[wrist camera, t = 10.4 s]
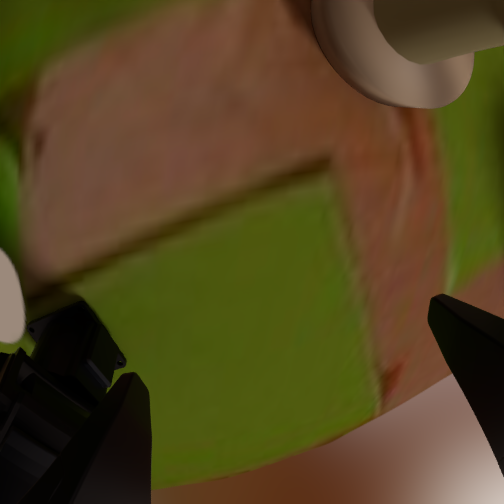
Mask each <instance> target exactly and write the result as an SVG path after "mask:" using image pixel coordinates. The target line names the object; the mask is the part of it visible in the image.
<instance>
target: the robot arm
mask: <svg viewBox="0 0 504 504" xmlns="http://www.w3.org/2000/svg"><path fill="white" fill-rule="evenodd" d="M80 307H82V308H83V309H84V310H82V309H80ZM428 324H429V326H430V328H431V330H432V333H433V335H434V337H435V339H436V341H437V343H438V345H439V348H440V350H441V352H442V354H443V356H444V358H445V361H446V363H447V364H448V366H449V368H450V370H451V372H452V373H453V375H454V377H455V379H456V380H457V382H458V384H459V386H460V388H461V389H462V391H463V393H464V395H465V397H466V399H467V400H468V402H469V404H470V406H471V408H472V410H473V412H474V414H475V416H476V418H477V420H478V422H479V424H480V426H481V427H482V430H483V432H484V434H485V436H486V438H487V440H488V442H489V444H490V446H491V448H492V451H493V453H494V455H495V457H496V460H497V462H498V465H499V467H500V469H501V472H502V474H503V477H504V319H502V318H500V317H498V316H496V315H493V314H491V313H489V312H486V311H484V310H481V309H479V308H477V307H474V306H472V305H470V304H467V303H465V302H462V301H460V300H458V299H455V298H453V297H450V296H448V295H445V294H439V295H436V296H434V297H432V298H431V300H430V305H429V311H428ZM31 327H32V328H33V329H32V328H31ZM27 330H28V332H29V333H30V335H31V336H32V337H33V339H34V340H35V341H36V343H37V344H36V346H35V348H34V350H33V352H32V354H31V356H30V357H29V356H28V355H27V354H26V352H25V351H24V350H23V349H22V348H21V347H19V348H18V349H17V351H16V352H15V353H12V354H7V353H2V352H1V353H0V504H151V452H152V431H151V416H150V398H149V391H148V389H147V387H146V386H145V384H144V383H143V381H142V380H141V379H140V377H139V376H138V374H137V373H135V372H130V373H124V374H122V375H121V376H120V377H119V379H118V380H117V381H116V382H115V384H114V385H113V386H112V387H111V384H112V379H113V374H114V370H117V369H120V368H123V367H125V366H126V361H127V360H126V358H125V357H124V356H123V354H122V353H121V352H120V350H119V347H118V346H117V344H116V343H115V342H114V340H113V339H112V338H111V336H110V335H109V333H108V332H107V331H106V329H105V328H104V326H103V325H102V324H100V322H99V321H98V320H97V318H96V317H95V315H94V314H93V312H92V311H91V309H90V308H89V306H88V305H87V303H85V302H84V301H79V302H76V303H74V304H72V305H69V306H67V307H65V308H62V309H60V310H57V311H55V312H53V313H50V314H48V315H46V316H43V317H41V318H39V319H36V320H34V321H32V322H30V323H29V324H28V326H27ZM119 361H121V362H119ZM108 387H111V389H110V390H109V391H108V392H107V388H108ZM106 392H107V394H106Z"/></svg>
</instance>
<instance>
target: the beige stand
mask: <svg viewBox="0 0 504 504" xmlns="http://www.w3.org/2000/svg"><path fill="white" fill-rule="evenodd" d="M311 18H312V24H313V28H314V32H315V35H316V38H317V40H318V43H319V45H320V47H321V49H322V51H323V53H324V54H325V56H326V58H327V60H328V61H329V62H330V64H331V65H332V67H333V68H334V69H335V70H336V72H337V73H338V74H339V75H340V76H341V77H342V78H343V79H344V80H345V81H346V82H347V83H348V84H349V85H350V86H351V87H353V88H354V89H355V90H357V91H358V92H359V93H361V94H363V95H364V96H366V97H367V98H369V99H371V100H374V101H376V102H378V103H381V104H384V105H388V106H394V107H412V108H430V109H431V108H439V107H442V106H446V105H448V104H450V103H451V102H453V101H454V100H456V99H457V98H458V97H459V96H460V95H461V94H462V92H463V91H464V90H465V88H466V86H467V85H468V82H469V80H470V78H471V74H472V70H473V64H474V52H472V53H468V54H464V55H461V56H457V57H453V58H450V59H446V60H443V61H439V62H436V63H432V64H423V65H419V64H416V63H414V62H411V61H408V60H407V59H405V58H404V57H402V56H401V55H399V54H398V53H397V52H396V51H395V50H394V49H393V48H392V47H391V46H390V45H389V44H388V43H387V41H386V40H385V38H384V36H383V35H382V33H381V31H380V30H379V28H378V25H377V22H376V19H375V16H374V6H373V0H311Z"/></svg>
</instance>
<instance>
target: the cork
mask: <svg viewBox="0 0 504 504" xmlns="http://www.w3.org/2000/svg"><path fill="white" fill-rule="evenodd" d="M373 6H374V16H375V19H376V22H377V25H378V28H379V30H380V31H381V33H382V35H383V36H384V38H385V40H386V41H387V43H388V44H389V45H390V46H391V47H392V48H393V49H394V50H395V51H396V52H397V53H398V54H399V55H401V56H402V57H404V58H405V59H407V60H408V61H411V62H414V63H416V64H419V65H423V64H432V63H436V62H439V61H443V60H446V59H450V58H453V57H457V56H461V55H464V54H468V53H472V52H476V51H480V50H485V49H489V48H494V47H498V46H503V45H504V0H373Z"/></svg>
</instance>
